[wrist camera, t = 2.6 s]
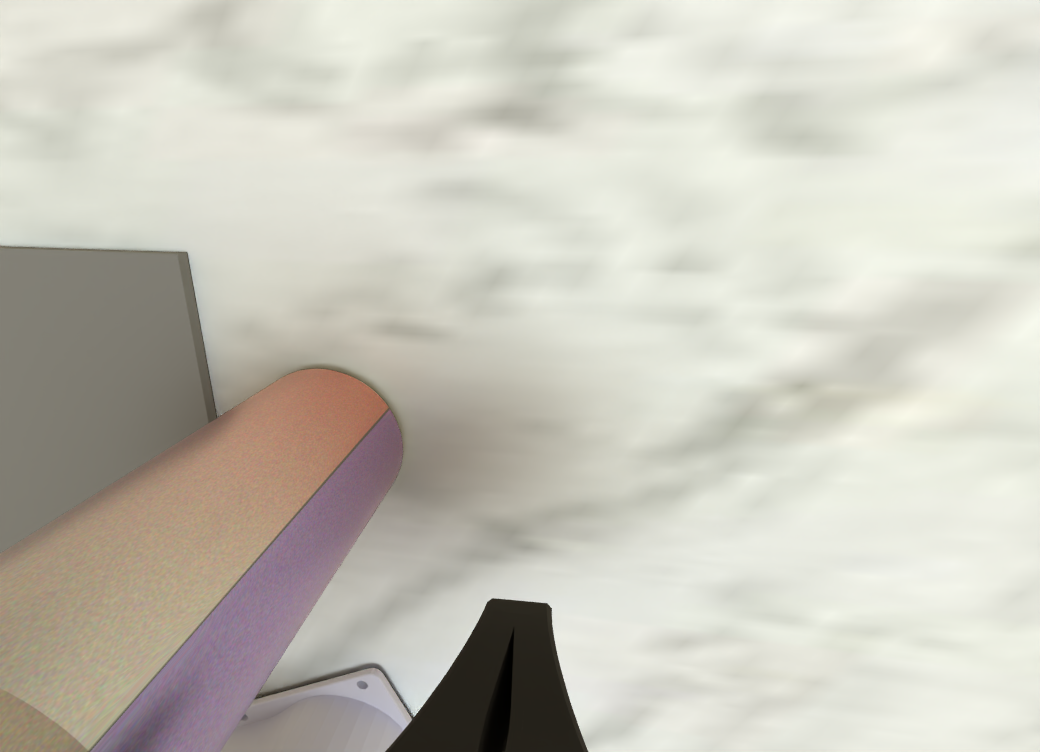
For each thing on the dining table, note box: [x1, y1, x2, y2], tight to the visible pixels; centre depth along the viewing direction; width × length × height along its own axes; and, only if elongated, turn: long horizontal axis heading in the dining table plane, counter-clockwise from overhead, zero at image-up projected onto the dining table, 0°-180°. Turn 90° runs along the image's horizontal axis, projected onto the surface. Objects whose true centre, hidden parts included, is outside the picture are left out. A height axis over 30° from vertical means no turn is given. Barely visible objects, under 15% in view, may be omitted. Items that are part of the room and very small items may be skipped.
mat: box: [0, 246, 217, 553], centre depth 23 cm, size 18×14×1 cm
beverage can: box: [0, 369, 403, 752], centre depth 15 cm, size 6×6×15 cm
